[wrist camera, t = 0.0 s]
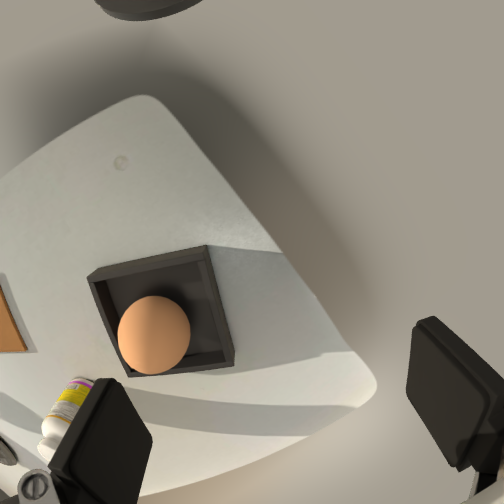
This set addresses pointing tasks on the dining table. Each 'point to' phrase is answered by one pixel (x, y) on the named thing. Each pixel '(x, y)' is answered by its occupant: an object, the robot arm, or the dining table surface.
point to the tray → (176, 289)
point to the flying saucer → (6, 455)
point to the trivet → (9, 330)
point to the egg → (153, 334)
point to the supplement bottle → (62, 416)
